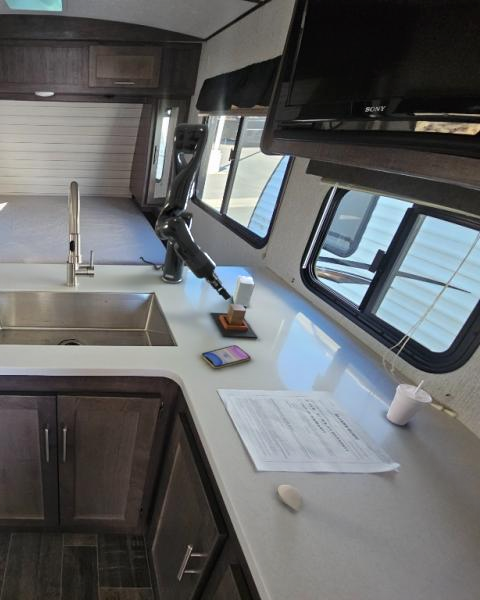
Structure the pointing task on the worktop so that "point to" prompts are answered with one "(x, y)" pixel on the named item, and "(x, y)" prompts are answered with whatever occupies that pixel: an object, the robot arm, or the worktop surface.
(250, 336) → the dock pad
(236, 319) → the oak block
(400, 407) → the smoothie
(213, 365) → the smartphone
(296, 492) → the cream seashell
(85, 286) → the worktop surface
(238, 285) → the small box
